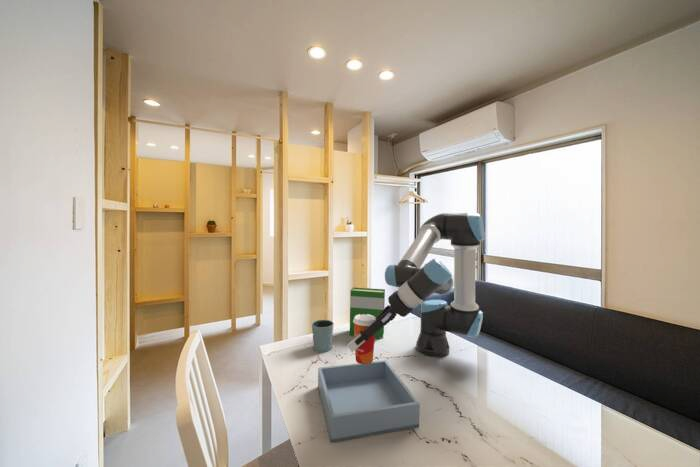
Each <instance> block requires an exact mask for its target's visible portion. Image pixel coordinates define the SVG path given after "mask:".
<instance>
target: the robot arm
mask: <svg viewBox="0 0 700 467" xmlns="http://www.w3.org/2000/svg"><path fill="white" fill-rule="evenodd" d="M484 226H485V225H484V220H483V218H482V215H480V214H479V213H477V212H475V213H474V212H455V213H454V212H453V213H448V212H447V213H446V212H445V213H439V214H436V215H434V216H432V217H431V218H429V219H428V220H426V221H425V222H424V223H422V225H421V226H420V228H418V235H416V237H415V239H414V240H413V242H412V243H411V245H410V246H409V247H408V249H407V250H406V252H405V253H404V255H403V256H402V258H401V259H400V260H399V262H398V263H397V264H389V265H388V266H386V268H385V271H384V281H385V283H386V284H387V285H388V286H392V287H395V288H397V290H395V291H394V292H393V293H392V294H390V295H389V296H388V303H389V304H388V305H386V306H384V310H383V311H382V312H381V313H380V314H379V315H378V316H377V317H376V320H375V321H374V322H373V323H372V324H371V325H370V326H369V327H368V328H367V329H365V330H364V331H363V332H362V331H360V334H359V335H358V336H356V337H355V336H354V338H353V339H352V340H350V342H348V343H347V344H346V346H347V347H348V349H349V350H350V351H351V352H352V353H353V352H355V349H357V348H358V347H359V346H360V345H361V344H363V343H364V342H365V341H368V339H369V338H371V337H372V336H373V335H374V334H375V333H376V332H377V331H379V330H380V329H381V328H382V327H383V326H384V327H385V326H386V325H388V324H389V323H390V322H391V321H393V320H394V319H395V318H396V316H397V315H399V316H400V317H402V318H404V317H405V318H406V316H408V315H409V314H410V313H411V312H413V309H416V308H418V306H419V305H420V332H419V334H418V337H417V340H416V345H415V346H416V350H417V351H418V352H420V353H421V354H423V355H426V356H429V357H435V358H442V357H446V356H448V355H449V354H450V344H449V342H448V337H447V332H448V333H451V334H455V335H459V336H463V337H464V336H465V337H469V338H477V337H478V336H479V334H480V331H481V327H482V323H483V318H484V312H483V311H482V310H480V306H479V304H478V303H477V302H476V274H477V273H476V272H477V270H476V269H477V268H476V267H477V262H476V260H477V259H476V258H477V249H478V247H480V245H481V242H484V240H485V227H484ZM440 240H449V241H450V245H451V246H452V247H453V248H454V249H453V250H454V252H453V254H454V258H453V260H454V262H453V264H454V268H453V269H454V272H453V274H454V276H453V274H452V272H451V271H450V270H449V269H448V268H447V266H446V265H445V264H444V263H443V262H442V261H441V260H439V259H438V258H432V259H431V260H429V261H428V262H426V263H425V264H424V262H425V260H426V259H427V257H428V255H429V253H430V251H431V250H432V248H433V247H434V245H435V244H437V243H438V242H439V241H440ZM423 264H424V265H423ZM452 276H453V277H452ZM452 290H453V293H454V294H453V297H454V298H453V299H454V300H453V301H451V302H450V305H448V302H447V301H446V300H443V299H429V300H427V299H428V298H429V297H430V296H433V294H439V295H444V294H447V293H449V292H450V291H452Z"/></svg>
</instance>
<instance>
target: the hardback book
mask: <svg viewBox="0 0 700 467" xmlns="http://www.w3.org/2000/svg"><path fill="white" fill-rule="evenodd" d="M385 292H386V289H384V288H370V287H368V288H366V287H352V288H351V289H350V298H349V299H350V300H349V303H350V304H349V336H354V322H353V320H354V317H355V316H356V315H359V314H360V316H361V315H362V314H365V315H367V314H370V315H373V316H375V318H376V317H377V316H378V315H379V314H380V313H381V312H382V311H383V310H384V309H385V305H386V304H385V300H386V299H385V298H386V297H385V296H386V295H385ZM384 333H385V326H383V327H382V328H381V329H380V330H379V331H377V332H376V333H375V339H384ZM354 337H355V336H354Z"/></svg>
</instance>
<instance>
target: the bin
mask: <svg viewBox="0 0 700 467" xmlns="http://www.w3.org/2000/svg"><path fill="white" fill-rule="evenodd" d="M317 373H318V374H317V388H318V392H319V396H320V401H321V405H322V410H323V414H324V417H325V423H326V427H327V432H328V437H329V441H330V444H334V443H335V444H336V443H341V442H345V441H350V440H356V439H357V440H358V439H363V438H367V437H373V436H378V435H384V434H389V433H395V432H401V431H406V430H412V429H417V428H420V412H421V411H420V410H421V407H420V406H421V404H420V402H419V401H418V399H417V398H416V397H415V396H414V395H413V393H412V392H411V391H410V389H409V388H408V387H407V385H406V384H405V382H403V380H402V378H401V377H400V376H399V375H398V373H397V372H396V371H395V369H393V367H392V366H391V365H390V363H389V362H388V360H387V359H384V360H377V361H374V360H373V361H372V363H370V364H360V363H358V362H356V363H350V364H349V363H348V364H339V365H331V366H329V365H328V366H321V367H320V366H319V367H318V369H317Z"/></svg>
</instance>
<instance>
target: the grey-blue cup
mask: <svg viewBox="0 0 700 467" xmlns="http://www.w3.org/2000/svg"><path fill="white" fill-rule="evenodd" d="M311 330H312V340H313V343H312V344H313V350H314V351H316V352H318V353H327V352H330V351H331V350H332V348H333V332H334V321H332V320H330V319H318V320H314V321H312V323H311Z"/></svg>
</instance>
